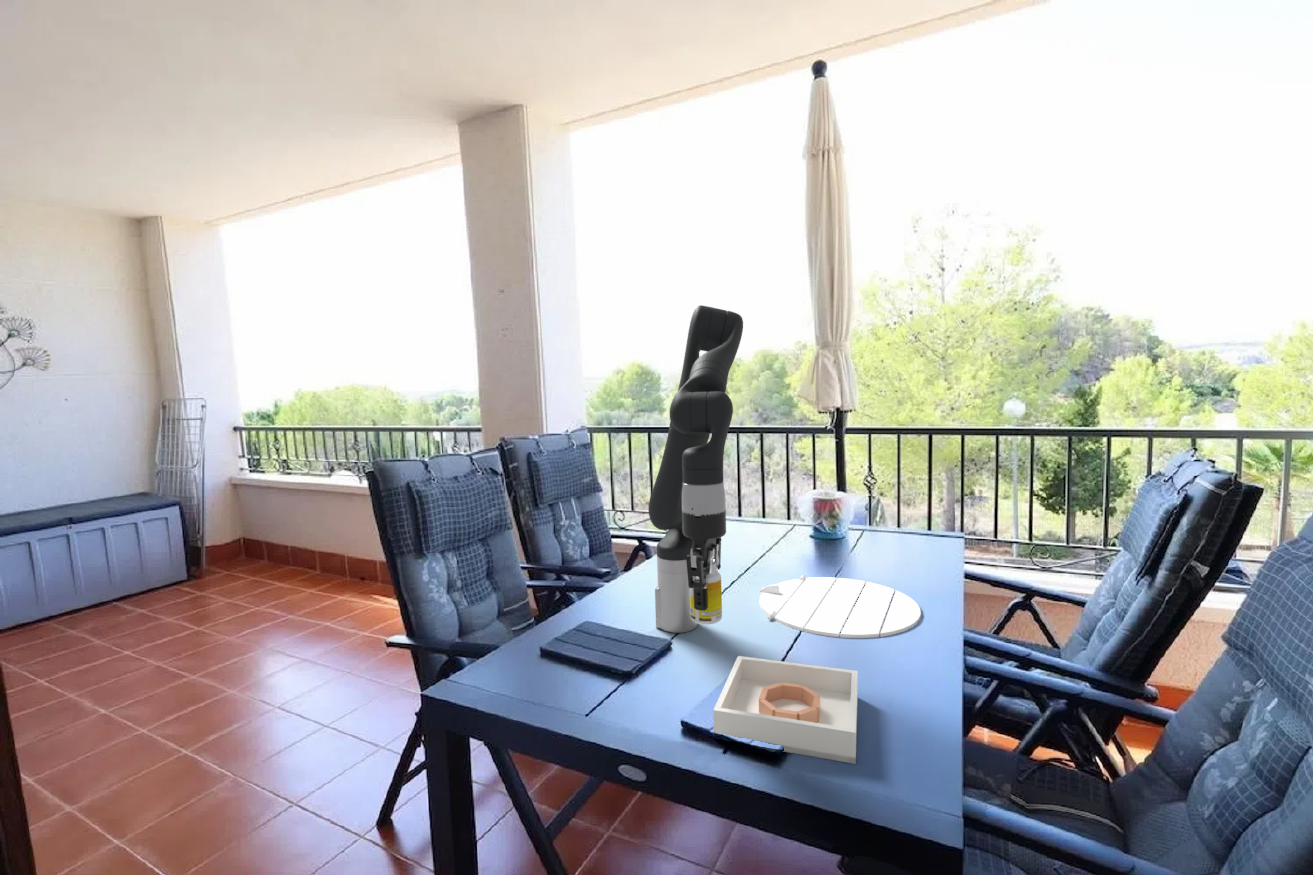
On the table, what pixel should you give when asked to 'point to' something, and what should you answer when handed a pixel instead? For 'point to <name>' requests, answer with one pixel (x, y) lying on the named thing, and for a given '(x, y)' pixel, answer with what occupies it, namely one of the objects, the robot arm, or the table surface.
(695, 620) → the supplement bottle
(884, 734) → the table surface
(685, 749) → the table surface
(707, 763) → the table surface
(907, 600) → the white round slatted board
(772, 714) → the walled box
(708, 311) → the robot arm
